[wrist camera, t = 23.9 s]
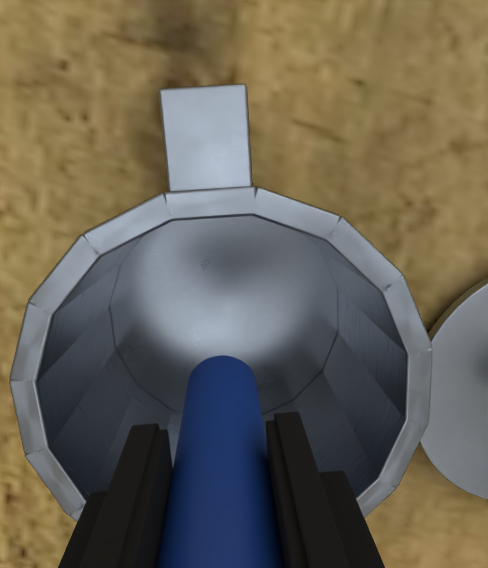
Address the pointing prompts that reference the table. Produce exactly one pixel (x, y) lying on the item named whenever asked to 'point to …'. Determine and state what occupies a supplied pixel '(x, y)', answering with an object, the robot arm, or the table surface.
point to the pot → (220, 319)
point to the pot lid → (460, 393)
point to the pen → (221, 476)
